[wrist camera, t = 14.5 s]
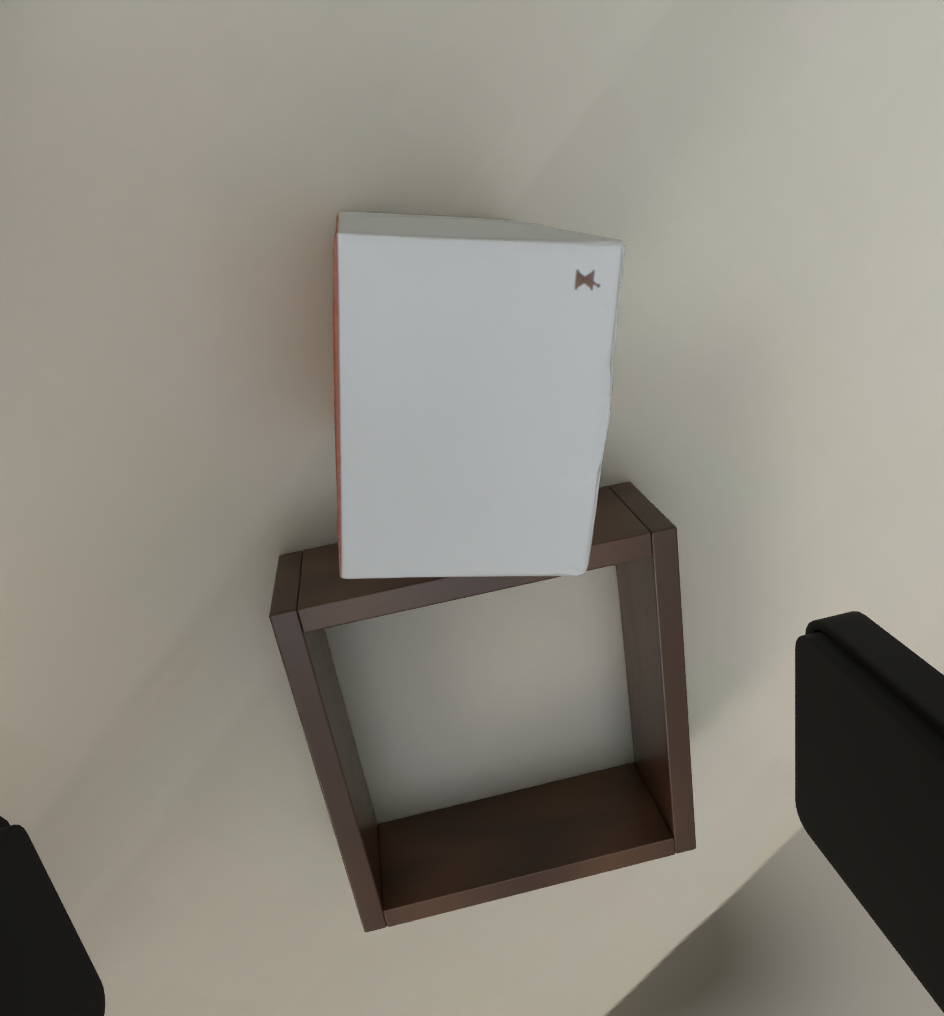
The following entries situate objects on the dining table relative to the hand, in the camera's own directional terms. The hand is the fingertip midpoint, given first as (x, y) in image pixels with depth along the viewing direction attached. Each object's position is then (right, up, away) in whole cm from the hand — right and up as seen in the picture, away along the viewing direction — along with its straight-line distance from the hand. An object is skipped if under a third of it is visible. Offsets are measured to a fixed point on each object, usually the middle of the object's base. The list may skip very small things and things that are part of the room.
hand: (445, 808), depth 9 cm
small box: (-2, +10, +20) cm, 23 cm away
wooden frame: (+1, -4, +26) cm, 27 cm away
